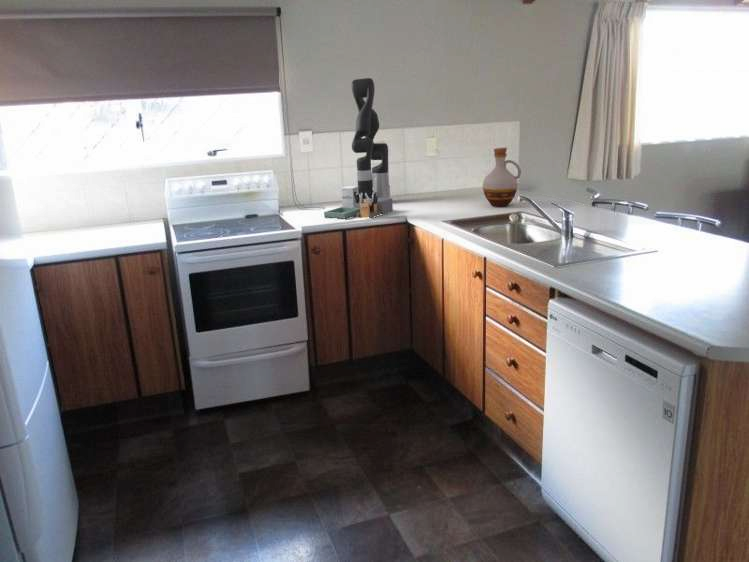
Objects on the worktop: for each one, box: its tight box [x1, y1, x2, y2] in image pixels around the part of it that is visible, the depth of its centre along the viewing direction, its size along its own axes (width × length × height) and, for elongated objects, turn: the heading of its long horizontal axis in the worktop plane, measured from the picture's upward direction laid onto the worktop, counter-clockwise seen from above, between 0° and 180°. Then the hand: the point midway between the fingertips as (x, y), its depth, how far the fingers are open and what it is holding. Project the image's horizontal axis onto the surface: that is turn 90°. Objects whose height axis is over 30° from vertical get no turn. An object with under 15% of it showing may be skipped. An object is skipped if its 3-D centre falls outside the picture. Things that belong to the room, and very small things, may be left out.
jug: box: [482, 147, 522, 208], centre depth 330 cm, size 20×18×30 cm
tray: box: [323, 206, 360, 220], centre depth 329 cm, size 15×13×3 cm
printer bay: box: [355, 197, 394, 219], centre depth 328 cm, size 20×10×7 cm, turn 146°
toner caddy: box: [360, 200, 377, 218], centre depth 323 cm, size 9×5×7 cm, turn 147°
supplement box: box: [341, 185, 360, 208], centre depth 342 cm, size 7×7×13 cm
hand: (367, 211), depth 323 cm, fingers closed on toner caddy, 5 cm apart
